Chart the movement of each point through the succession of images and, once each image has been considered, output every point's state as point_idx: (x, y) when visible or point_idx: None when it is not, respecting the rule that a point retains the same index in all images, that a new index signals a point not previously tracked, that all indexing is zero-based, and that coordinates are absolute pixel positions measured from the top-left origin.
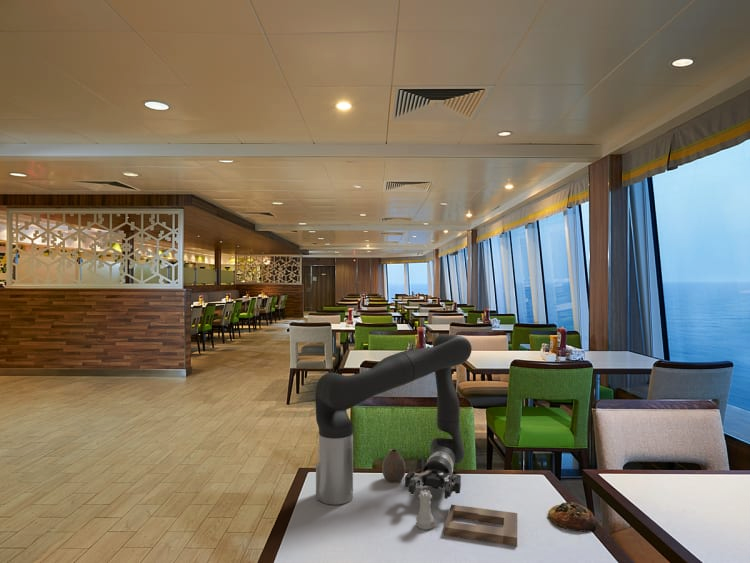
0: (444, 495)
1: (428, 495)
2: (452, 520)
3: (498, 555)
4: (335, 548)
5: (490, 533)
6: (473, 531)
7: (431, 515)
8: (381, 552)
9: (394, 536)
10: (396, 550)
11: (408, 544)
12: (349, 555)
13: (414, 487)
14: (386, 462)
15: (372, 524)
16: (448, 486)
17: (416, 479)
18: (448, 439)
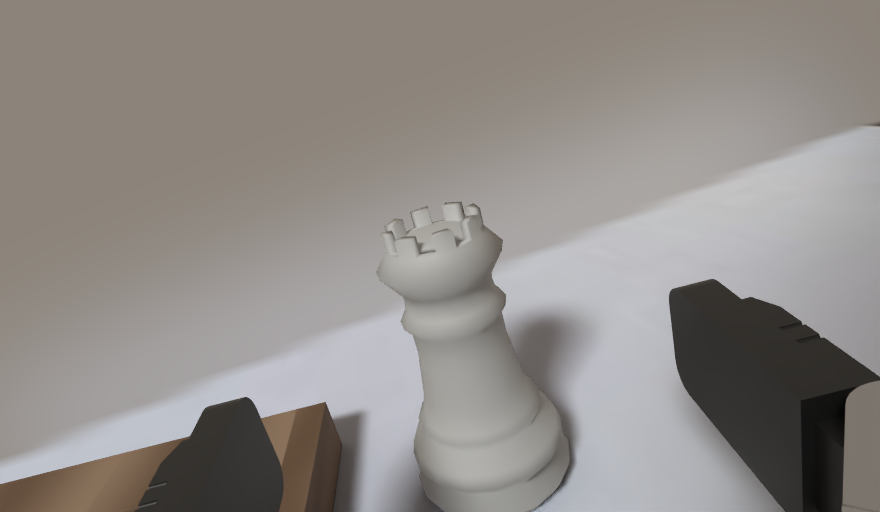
0: (268, 443)
1: (396, 234)
2: None
3: (77, 438)
4: (753, 194)
5: (29, 478)
6: (136, 451)
7: (424, 411)
8: (580, 249)
9: (608, 317)
10: (533, 276)
11: (506, 314)
12: (670, 203)
13: (728, 392)
14: None
15: (831, 322)
16: (158, 509)
17: (844, 442)
18: None
